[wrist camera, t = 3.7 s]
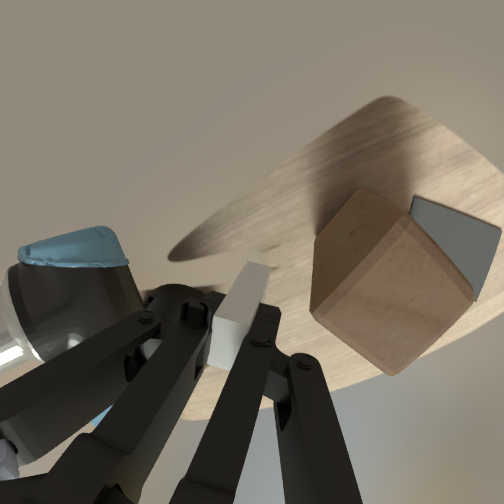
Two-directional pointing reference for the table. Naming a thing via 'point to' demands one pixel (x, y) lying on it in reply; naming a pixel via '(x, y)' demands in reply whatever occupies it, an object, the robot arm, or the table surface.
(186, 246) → the table surface
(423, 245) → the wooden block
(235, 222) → the table surface
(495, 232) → the mat
